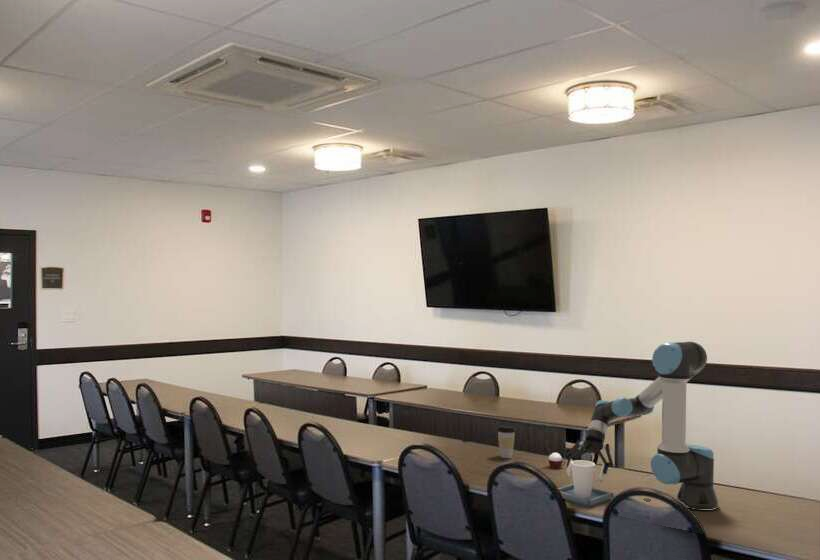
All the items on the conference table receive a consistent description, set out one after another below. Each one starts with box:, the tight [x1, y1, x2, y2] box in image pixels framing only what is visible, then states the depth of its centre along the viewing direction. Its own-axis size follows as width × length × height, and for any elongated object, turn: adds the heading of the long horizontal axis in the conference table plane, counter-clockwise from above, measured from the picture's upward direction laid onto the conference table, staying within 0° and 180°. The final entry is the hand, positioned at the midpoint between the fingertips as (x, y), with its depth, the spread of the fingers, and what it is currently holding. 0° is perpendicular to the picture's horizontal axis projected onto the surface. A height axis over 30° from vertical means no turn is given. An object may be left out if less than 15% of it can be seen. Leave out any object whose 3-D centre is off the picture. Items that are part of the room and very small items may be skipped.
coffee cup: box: [496, 424, 517, 459], centre depth 342 cm, size 9×9×15 cm
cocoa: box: [544, 439, 566, 469], centre depth 324 cm, size 10×6×12 cm, turn 40°
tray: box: [557, 483, 614, 508], centre depth 278 cm, size 18×16×2 cm
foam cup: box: [571, 459, 596, 498], centre depth 278 cm, size 10×9×13 cm
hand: (584, 477), depth 280 cm, fingers open, 13 cm apart
